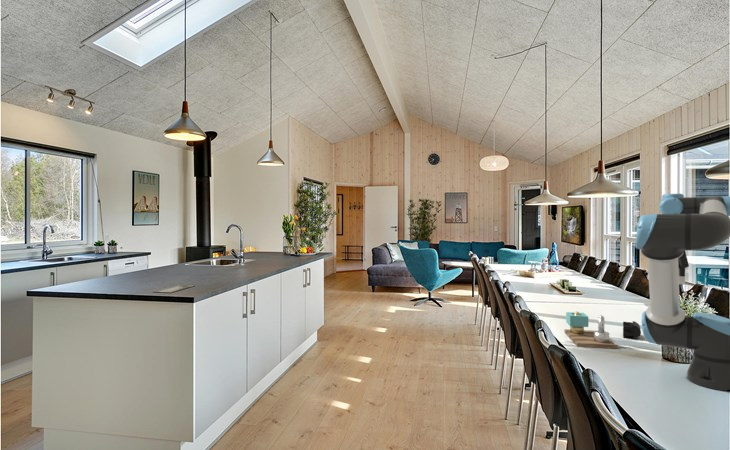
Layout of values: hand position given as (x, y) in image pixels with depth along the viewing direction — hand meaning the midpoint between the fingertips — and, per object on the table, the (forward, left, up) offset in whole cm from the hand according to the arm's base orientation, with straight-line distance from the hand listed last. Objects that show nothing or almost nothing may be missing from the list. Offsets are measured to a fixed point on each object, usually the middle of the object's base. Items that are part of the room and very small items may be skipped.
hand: (672, 281), depth 174 cm
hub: (+23, +31, -29) cm, 48 cm away
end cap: (+26, +6, -31) cm, 41 cm away
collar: (+23, +31, -25) cm, 46 cm away
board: (+17, +28, -31) cm, 44 cm away
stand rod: (+10, +24, -29) cm, 39 cm away
